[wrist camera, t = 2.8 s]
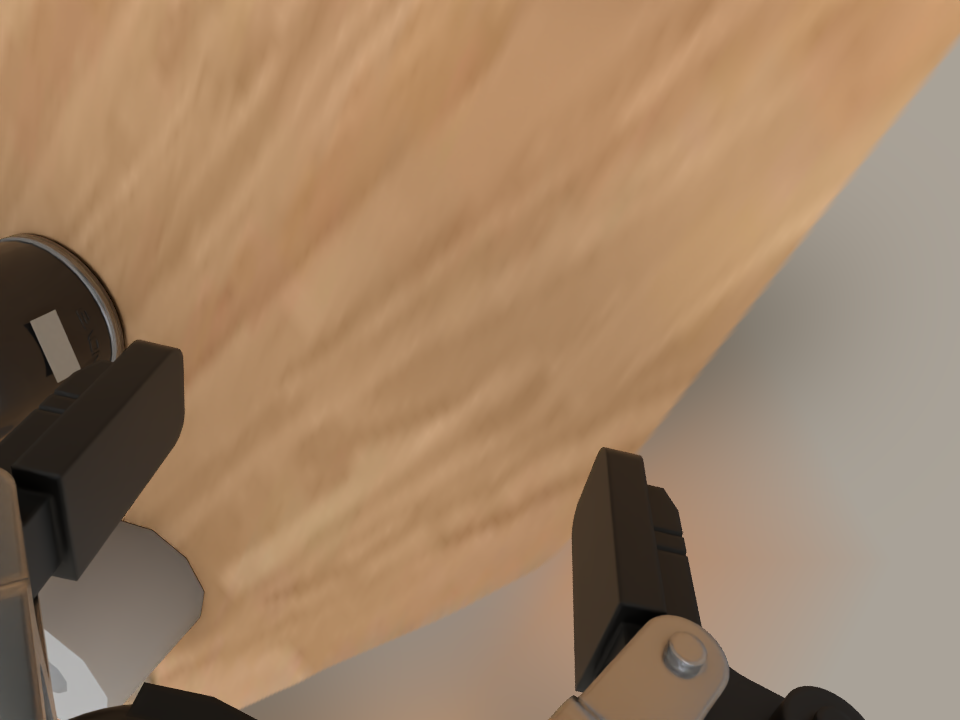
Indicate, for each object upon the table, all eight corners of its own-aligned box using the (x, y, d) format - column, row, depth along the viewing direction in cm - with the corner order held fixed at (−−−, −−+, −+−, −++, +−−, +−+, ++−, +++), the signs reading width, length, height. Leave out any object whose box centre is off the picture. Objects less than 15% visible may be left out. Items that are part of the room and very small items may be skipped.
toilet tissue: (93, 614, 55) (-7, 709, 48) (95, 499, 48) (-22, 590, 40) (191, 671, 54) (104, 777, 46) (208, 561, 46) (108, 666, 39)
